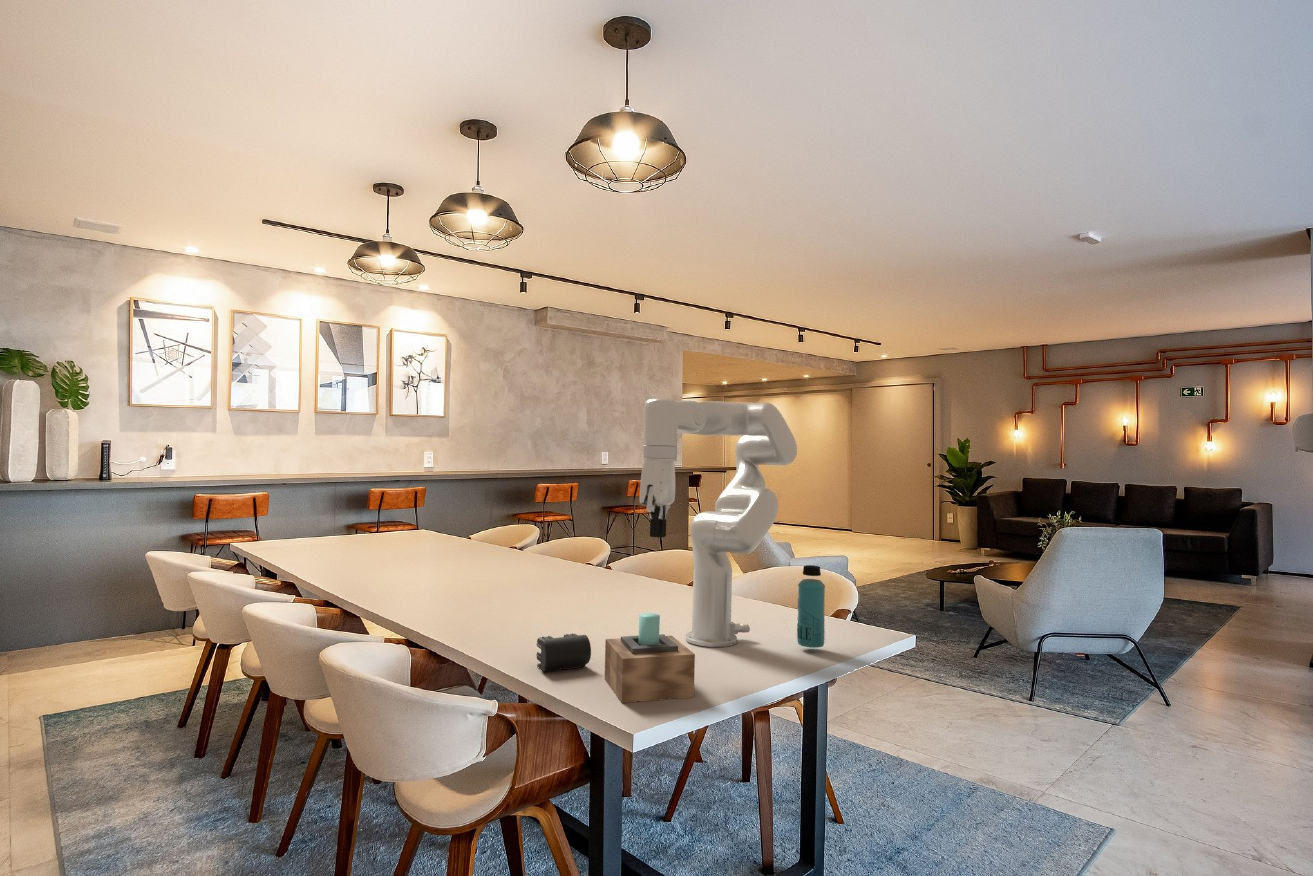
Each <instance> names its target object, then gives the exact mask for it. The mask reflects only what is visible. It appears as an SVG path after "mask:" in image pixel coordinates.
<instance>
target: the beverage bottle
mask: <svg viewBox="0 0 1313 876" xmlns="http://www.w3.org/2000/svg"><path fill="white" fill-rule="evenodd" d="M821 573H822V572H821V567H820V566H819V565H815V564H814V565H812V564H810V565H809V564H807V565H803V569H802V575H804V576H807V577H808V576H810V577H820V576H821ZM797 585H798V586H797V587H798V597H797V624H796V625H797V627H796V631H797V632H796V633H797V634H796V636H797V637H796V638H797V643H798V645H799V646H801V647H806V648H813V649H815V648H816V649H817V648H823V647H824V646H825V601H826V600H825V595H826V594H825V593H826V590H825V588H826V585H825V583H823V582H822V580H820V579H816V578H804V579H802V580H801V581H799V582H798V584H797Z"/></svg>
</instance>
